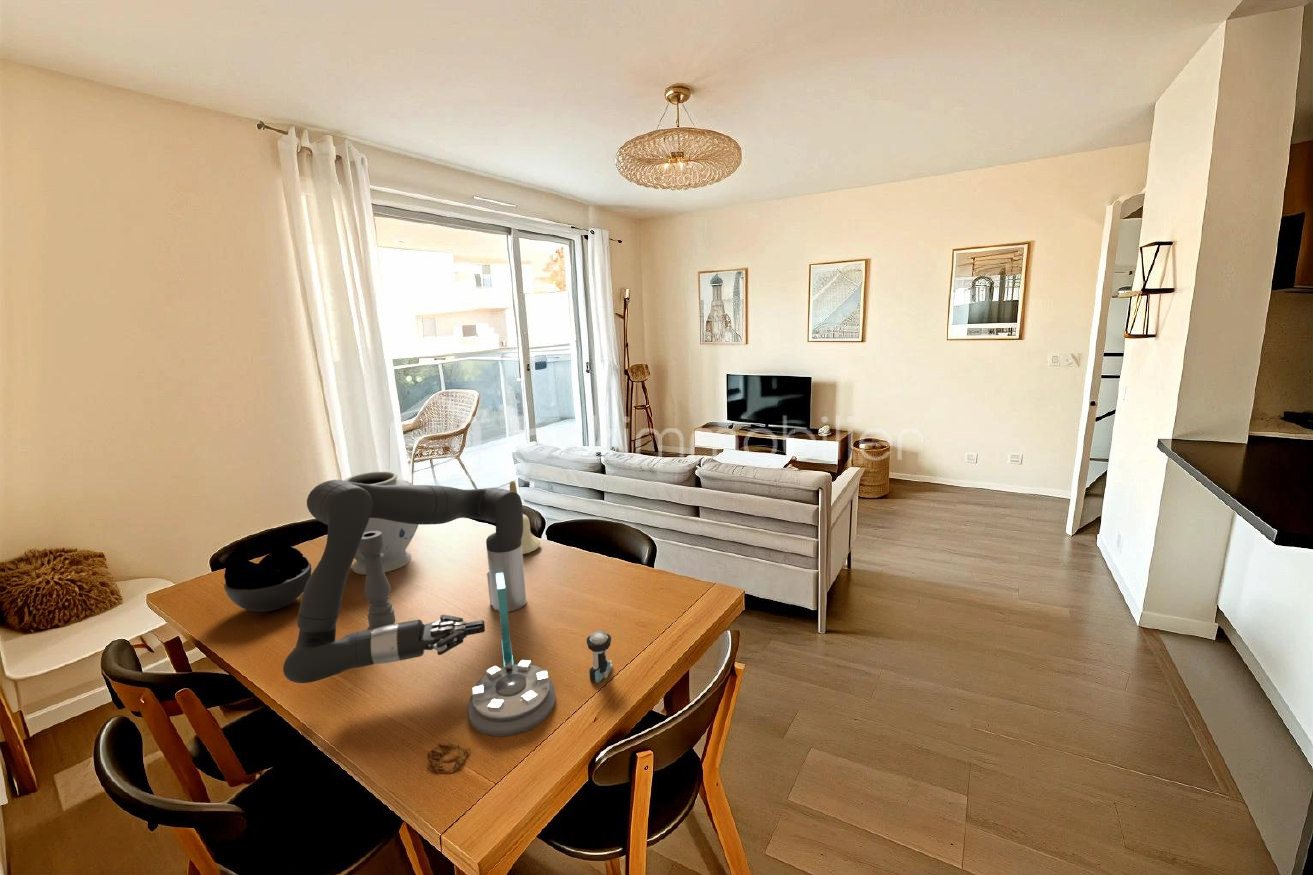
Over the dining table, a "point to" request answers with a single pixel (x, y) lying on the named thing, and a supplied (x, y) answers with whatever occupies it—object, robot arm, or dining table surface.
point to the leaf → (444, 749)
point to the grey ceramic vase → (386, 527)
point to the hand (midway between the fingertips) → (484, 625)
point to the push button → (599, 655)
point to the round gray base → (515, 725)
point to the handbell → (526, 531)
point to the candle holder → (376, 581)
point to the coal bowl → (266, 578)
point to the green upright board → (509, 679)
